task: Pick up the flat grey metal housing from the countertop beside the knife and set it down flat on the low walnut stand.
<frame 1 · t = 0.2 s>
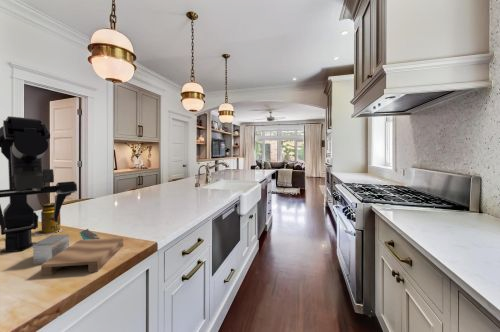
hand: (31, 225, 55), 15 cm above the countertop, tool pointing down, fingers open, 9 cm apart
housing: (52, 257, 71), on the countertop
stand: (88, 258, 70), on the countertop
condiment: (48, 232, 94), on the countertop
knife: (90, 237, 89), on the countertop
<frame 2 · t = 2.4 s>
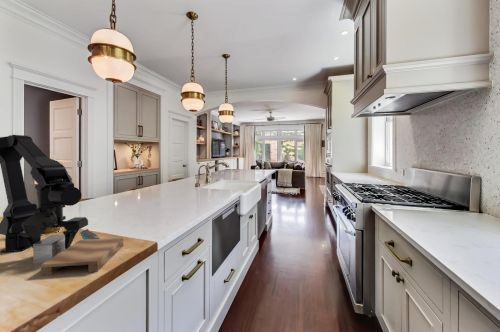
hand: (52, 250, 71), 2 cm above the countertop, tool pointing down, fingers open, 8 cm apart
nothing on the countertop moved.
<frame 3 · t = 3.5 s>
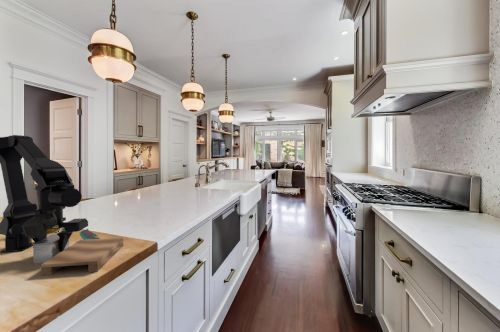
hand: (52, 252, 71), 2 cm above the countertop, tool pointing down, fingers closed on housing, 5 cm apart
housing: (52, 256, 71), on the countertop, touching gripper
everything else where it was.
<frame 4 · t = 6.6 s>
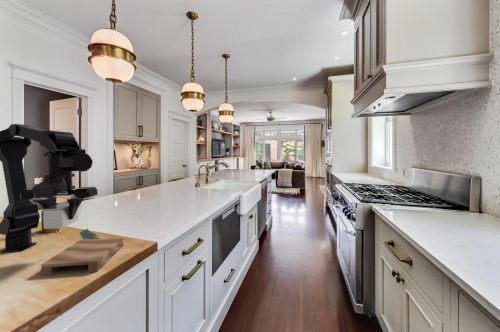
hand: (62, 219, 70), 12 cm above the countertop, tool pointing down, fingers closed on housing, 5 cm apart
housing: (62, 224, 70), point 11 cm above the countertop, touching gripper
everything else where it was.
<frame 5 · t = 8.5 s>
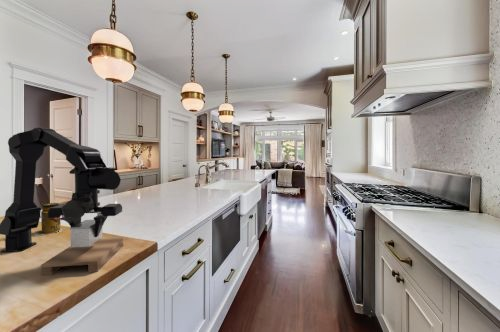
hand: (87, 237, 70), 7 cm above the countertop, tool pointing down, fingers closed on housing, 5 cm apart
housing: (87, 241, 70), point 5 cm above the countertop, touching gripper
everything else where it was.
when the fingers open (5 cm above the countertop, at t = 10.0 s): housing stays where it is, resting on stand.
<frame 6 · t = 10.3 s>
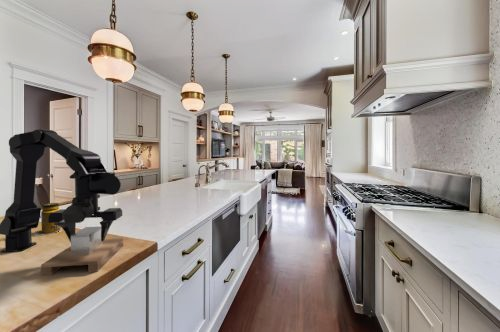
hand: (87, 241, 70), 5 cm above the countertop, tool pointing down, fingers open, 8 cm apart
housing: (87, 249, 70), point 3 cm above the countertop, touching stand
everything else where it was.
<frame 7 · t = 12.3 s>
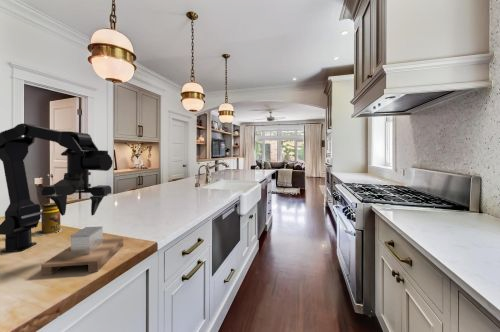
hand: (78, 215, 75), 12 cm above the countertop, tool pointing down, fingers open, 9 cm apart
nothing on the countertop moved.
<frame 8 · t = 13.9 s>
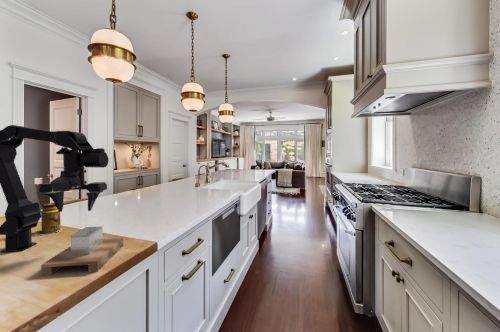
hand: (75, 211, 78), 13 cm above the countertop, tool pointing down, fingers open, 9 cm apart
nothing on the countertop moved.
at the end: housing inside the target area on the stand (0.0 cm from its centre), point 3.0 cm above the stand's base; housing tilted 0°; the gripper is holding nothing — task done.
